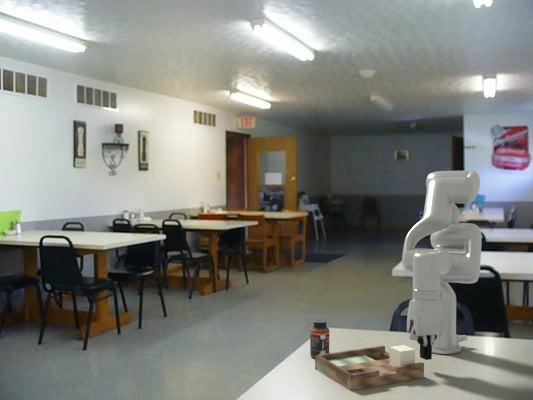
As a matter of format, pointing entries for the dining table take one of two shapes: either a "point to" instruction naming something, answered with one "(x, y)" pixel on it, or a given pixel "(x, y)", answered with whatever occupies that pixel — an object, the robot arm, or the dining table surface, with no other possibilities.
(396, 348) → the block
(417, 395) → the dining table surface
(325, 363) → the tray
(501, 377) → the dining table surface
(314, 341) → the supplement bottle
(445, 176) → the robot arm
